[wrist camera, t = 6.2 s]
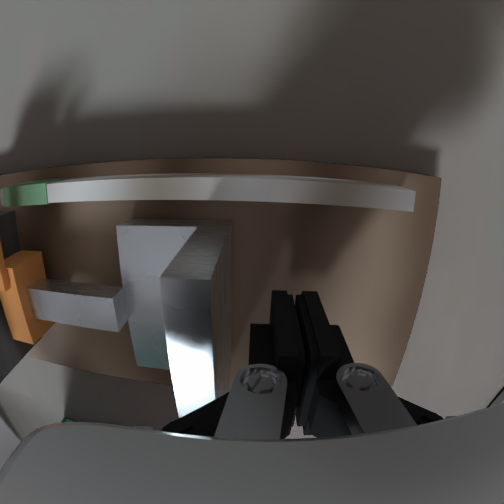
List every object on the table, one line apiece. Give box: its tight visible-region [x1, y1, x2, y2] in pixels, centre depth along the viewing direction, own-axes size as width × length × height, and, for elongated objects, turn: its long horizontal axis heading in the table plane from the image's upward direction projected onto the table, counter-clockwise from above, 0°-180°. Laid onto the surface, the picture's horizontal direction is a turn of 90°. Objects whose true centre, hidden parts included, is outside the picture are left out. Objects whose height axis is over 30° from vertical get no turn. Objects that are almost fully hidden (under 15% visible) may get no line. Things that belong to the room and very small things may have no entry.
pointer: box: [0, 240, 56, 345], centre depth 12 cm, size 2×7×3 cm, turn 178°
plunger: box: [26, 219, 232, 418], centre depth 11 cm, size 10×7×6 cm
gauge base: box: [0, 158, 441, 390], centre depth 12 cm, size 25×12×8 cm, turn 88°
